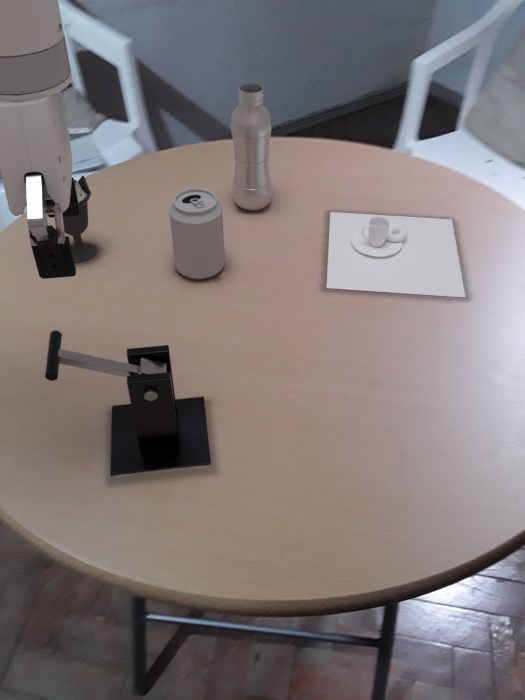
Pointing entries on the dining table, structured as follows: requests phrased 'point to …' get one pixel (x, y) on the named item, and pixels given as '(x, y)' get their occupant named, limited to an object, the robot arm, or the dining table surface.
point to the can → (197, 233)
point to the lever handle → (94, 362)
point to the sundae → (80, 224)
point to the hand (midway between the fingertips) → (61, 243)
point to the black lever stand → (157, 422)
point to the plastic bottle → (251, 148)
